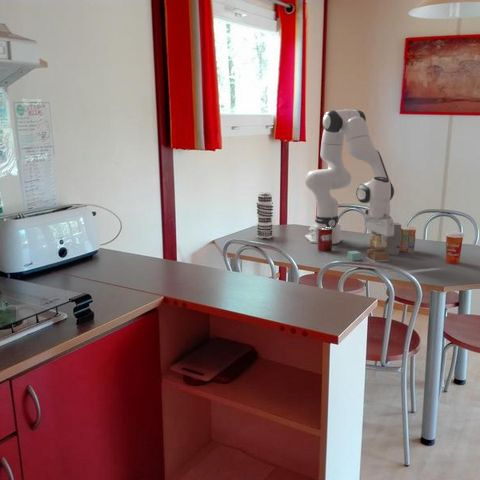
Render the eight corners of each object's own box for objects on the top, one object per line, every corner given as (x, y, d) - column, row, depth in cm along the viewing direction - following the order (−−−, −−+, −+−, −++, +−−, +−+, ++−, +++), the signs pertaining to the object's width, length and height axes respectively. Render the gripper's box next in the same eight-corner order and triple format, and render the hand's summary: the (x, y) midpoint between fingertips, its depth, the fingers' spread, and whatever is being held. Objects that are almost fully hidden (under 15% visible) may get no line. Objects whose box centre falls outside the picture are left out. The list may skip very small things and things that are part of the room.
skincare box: (382, 256, 256) (384, 224, 253) (379, 252, 263) (381, 221, 260) (400, 256, 256) (402, 224, 252) (396, 253, 263) (398, 221, 259)
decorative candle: (256, 235, 304) (256, 191, 298) (272, 235, 304) (273, 191, 298) (256, 238, 295) (256, 194, 290) (273, 238, 295) (273, 194, 289)
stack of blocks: (369, 251, 267) (370, 227, 264) (370, 248, 273) (371, 224, 270) (414, 254, 261) (416, 229, 259) (413, 250, 267) (415, 226, 264)
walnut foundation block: (366, 257, 251) (367, 249, 250) (380, 256, 253) (380, 248, 252) (374, 261, 245) (375, 252, 244) (388, 260, 247) (388, 251, 246)
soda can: (314, 250, 269) (315, 227, 267) (327, 249, 272) (328, 226, 269) (321, 253, 263) (322, 230, 260) (334, 252, 265) (335, 228, 262)
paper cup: (440, 262, 246) (442, 232, 242) (447, 259, 251) (450, 230, 248) (457, 265, 240) (459, 235, 237) (464, 262, 246) (467, 232, 242)
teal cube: (347, 260, 251) (347, 251, 250) (355, 259, 252) (356, 250, 251) (351, 263, 246) (352, 253, 245) (360, 262, 248) (361, 253, 246)
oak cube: (369, 244, 249) (370, 234, 248) (380, 243, 250) (380, 233, 249) (375, 247, 244) (376, 236, 243) (386, 246, 245) (387, 236, 244)
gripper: (398, 216, 235) (396, 246, 238) (374, 208, 254) (373, 237, 257) (386, 217, 233) (384, 247, 236) (362, 209, 252) (361, 238, 255)
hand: (378, 242), depth 247 cm, fingers closed on oak cube, 5 cm apart
